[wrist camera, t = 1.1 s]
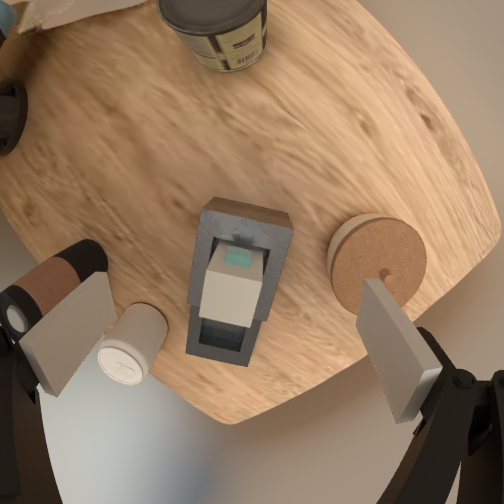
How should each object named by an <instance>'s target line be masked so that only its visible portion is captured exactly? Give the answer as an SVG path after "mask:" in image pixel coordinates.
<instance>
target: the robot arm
mask: <svg viewBox="0 0 504 504" xmlns="http://www.w3.org/2000/svg"><path fill="white" fill-rule="evenodd" d="M16 19H17V12H16V10H15V9H14V8H13V7H12V6H10V5H9V4H7V3H5V2H4V1H2V0H0V48H1V46H2V45H3V43H4V41H5V40H6V39H7V37H8V34H9V32H10V30H11V28H12V26H13V25H14V23H15V21H16ZM26 114H27V95H26V91H25V88H24V86H23V85H22V84H21V83H20V82H18V81H14V80H5V81H2V82H0V156H4V155H6V154H8V153H9V152H10V151H11V150H12V149H13V148H14V147H15V145H16V144H17V142H18V140H19V138H20V136H21V133H22V131H23V127H24V124H25V120H26ZM116 317H117V315H116V311H115V307H114V303H113V299H112V295H111V290H110V285H109V281H108V276H107V272H95V273H93V274H92V275H91V276H90V277H89V278H87V279H86V280H85V281H84V282H83V283H81V284H80V285H79V286H78V287H77V288H76V289H74V290H73V291H72V292H71V293H70V294H69V295H68V296H66V297H65V298H64V299H63V300H62V301H61V302H60V303H59V304H57V305H56V306H55V307H54V308H53V309H52V310H51V311H50V312H49V313H48V314H46V315H45V316H43V317H42V318H40V319H39V320H38V321H37V322H36V324H34V325H33V326H32V327H31V329H29V330H28V331H27V332H26V333H25V334H24V335H23V336H22V337H21V338H20V339H19V340H18V341H17V342H16V343H15V344H13V342H12V340H11V337H10V335H9V333H8V330H7V328H6V327H5V326H0V504H63V503H62V500H61V497H60V494H59V490H58V487H57V484H56V481H55V477H54V473H53V470H52V466H51V462H50V458H49V453H48V449H47V444H46V439H45V433H44V428H43V421H42V414H41V406H40V398H39V392H38V390H37V388H36V386H37V385H38V384H39V383H40V384H41V386H42V388H43V390H44V391H45V393H48V394H50V395H53V396H55V397H58V396H59V394H60V393H61V391H62V390H63V388H64V387H65V386H66V384H67V383H68V381H69V380H70V378H71V377H72V376H73V374H74V373H75V371H76V370H77V368H78V367H79V366H80V364H81V363H82V362H83V360H84V359H85V358H86V356H87V355H88V354H89V352H90V351H91V349H92V348H93V347H94V346H95V344H96V343H97V341H98V340H99V339H100V338H101V336H102V335H103V334H104V332H105V331H106V330H107V329H108V327H109V326H110V325H111V323H112V322H113V321H114V320H115V318H116ZM356 328H357V330H358V332H359V334H360V336H361V339H362V341H363V343H364V346H365V348H366V350H367V352H368V355H369V357H370V359H371V362H372V364H373V366H374V369H375V371H376V374H377V376H378V378H379V381H380V383H381V386H382V388H383V391H384V393H385V396H386V398H387V401H388V403H389V406H390V408H391V411H392V414H393V416H394V419H395V422H396V424H399V423H403V422H408V421H412V420H414V419H415V417H416V416H417V414H418V412H419V410H420V411H421V413H422V416H423V419H422V420H421V422H420V423H419V425H418V426H417V428H416V429H415V431H414V432H413V435H414V437H413V439H412V442H411V443H410V446H409V448H408V450H407V452H406V454H405V456H404V457H403V459H402V461H401V463H400V465H399V467H398V469H397V471H396V472H395V474H394V476H393V478H392V479H391V481H390V483H389V484H388V486H387V488H386V489H385V491H384V493H383V494H382V496H381V497H380V499H379V501H378V502H377V503H376V504H445V502H446V500H447V498H448V495H449V493H450V490H451V487H452V485H453V482H454V480H455V477H456V474H457V471H458V468H459V465H460V462H461V470H460V480H459V489H458V496H457V503H456V504H504V370H499V371H497V372H495V373H494V375H493V377H492V379H491V380H490V381H477V380H476V378H475V376H474V375H473V374H472V373H470V372H468V371H466V370H464V369H456V368H455V366H454V365H453V363H452V362H451V360H450V359H449V358H448V356H447V355H446V354H445V352H444V351H443V349H441V346H440V345H439V344H438V343H437V342H436V340H435V338H434V337H433V336H432V334H431V333H430V332H428V331H427V330H426V329H424V328H423V327H417V328H416V327H415V326H414V324H413V323H412V322H411V320H410V319H409V317H408V316H407V315H406V313H405V312H404V311H403V309H402V308H401V307H400V305H399V304H398V303H397V301H396V300H395V299H394V297H393V296H392V295H391V294H390V292H389V291H388V290H387V288H386V287H385V286H384V285H383V283H382V282H381V281H380V280H379V279H365V281H364V287H363V292H362V297H361V303H360V308H359V312H358V317H357V322H356Z"/></svg>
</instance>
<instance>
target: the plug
mask: <svg viewBox="0 0 504 504" xmlns="http://www.w3.org/2000/svg"><path fill="white" fill-rule="evenodd" d="M262 283H263V248H261V247H257V246H253V245H248V244H244V243H239V242H235V241H230V240H226V239H220V242H219V244H218V246H217V248H216V250H215V252H214V254H213V257H212V259H211V261H210V263H209V265H208V267H207V270H206V275H205V281H204V287H203V293H202V299H201V305H200V311H199V317H203V318H208V319H212V320H216V321H221V322H225V323H230V324H234V325H239V326H244V327H248V328H250V326H251V323H252V319H253V316H254V312H255V308H256V305H257V301H258V297H259V294H260V290H261V286H262Z"/></svg>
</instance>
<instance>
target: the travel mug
mask: <svg viewBox="0 0 504 504" xmlns="http://www.w3.org/2000/svg"><path fill="white" fill-rule="evenodd" d="M107 267H108V261H107V257H106V254H105V252H104V250H103V249H102V247H101V246H100V245H99V244H98V243H96V242H95V241H93V240H89V239H85V240H82V241H79V242H77V243H75V244H74V245H72V246H70V247H68V248H66V249H65V250H63V251H61V252H59V253H57V254H56V255H54V256H52V257H51V258H49V259H47V260H46V261H44V262H43V263H41V264H40V265H38V266H37V267H35V268H34V269H33V270H31V271H30V272H28V273H27V274H25V275H24V276H23V277H21V278H20V279H18V280H17V281H16V282H15V283H13V284H12V285H10V286H9V287H8V288H6V289H5V290H4V291H2V292H1V293H0V324H1V325H2V326H5V327H6V328H7V330H8V333H9V335H10V337H11V339H12V340H13V341H14V342H15V343H16V342H17V341H18V340H19V339H20V338H21V337H22V336H23V335H24V334H25V333H26V332H27V331H28V330H29V329H31V327H32V326H33V325H34V324H36V322H37V321H38V320H39V319H40V318H42V317H43V316H45V315H46V314H48V313H49V312H50V311H51V310H52V309H53V308H54V307H55V306H56V305H57V304H59V303H60V302H61V301H62V300H63V299H64V298H65V297H66V296H68V295H69V294H70V293H71V292H72V291H73V290H74V289H76V288H77V287H78V286H79V285H80V284H81V283H83V282H84V281H85V280H86V279H87V278H89V277H90V276H91V275H92V274H93V273H95V272H106V271H107Z"/></svg>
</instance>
